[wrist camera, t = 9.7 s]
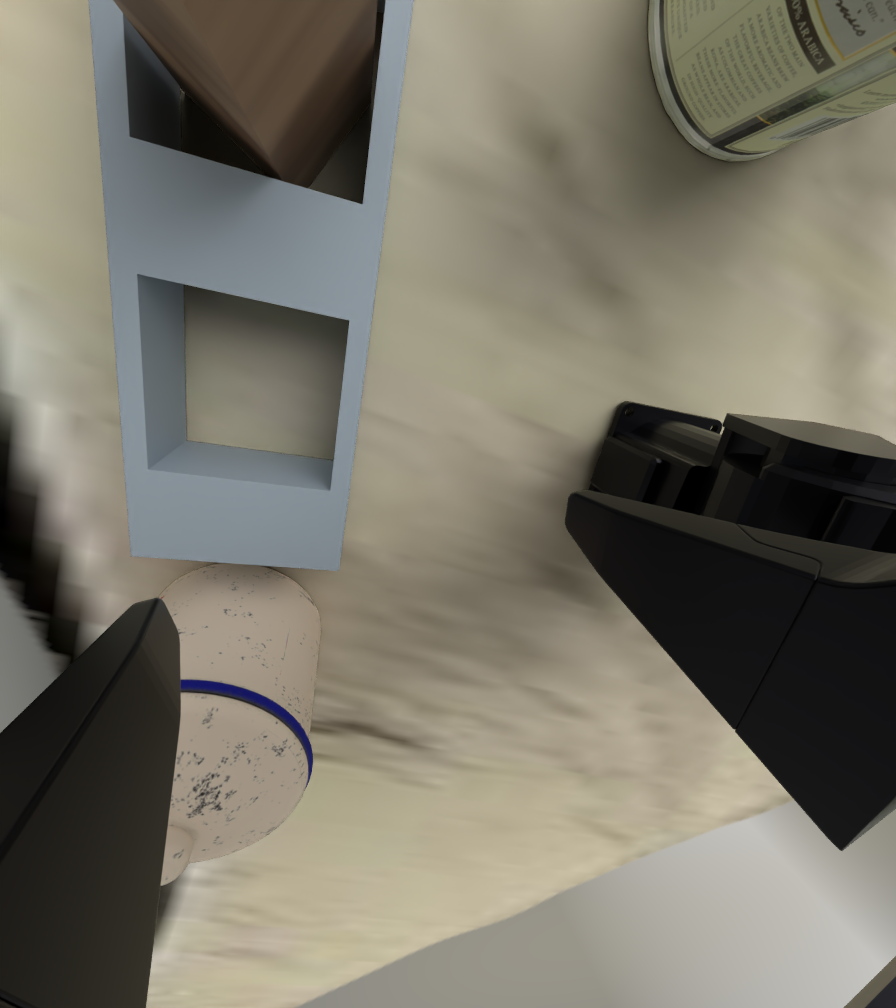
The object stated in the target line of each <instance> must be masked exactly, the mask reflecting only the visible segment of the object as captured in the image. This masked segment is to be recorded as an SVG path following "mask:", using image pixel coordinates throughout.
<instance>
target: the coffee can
mask: <svg viewBox="0 0 896 1008" xmlns="http://www.w3.org/2000/svg"><path fill="white" fill-rule="evenodd" d="M648 39H649V49H650V57H651V64H652V69H653V74H654V78H655V82H656V85H657V89H658V92H659V94H660V97H661V99H662V102H663V106H664V108H665V110H666V112H667V114H668V115H669V116H670V118H671V119H672V121H673V123H674V124H675V125H676V127H677V129H678V131H679V132H680V133H681V134H682V135H683V136H684V137H685V139H686V140H687V141H688V142H689V143H690V144H691V145H693V146H694V147H695V148H697V149H698V150H700V151H701V152H702V153H705V154H707V155H709V156H711V157H714V158H717V159H721V160H725V161H727V162H731V161H748V160H753V159H758V158H761V157H764V156H767V155H769V154H772V153H774V152H776V151H778V150H780V149H782V148H783V147H785V146H787V145H789V144H791V143H794V142H796V141H799V140H802V139H804V138H807V137H809V136H812V135H814V134H817V133H819V132H822V131H824V130H827V129H830V128H832V127H835V126H838V125H840V124H842V123H845V122H847V121H850V120H852V119H855V118H857V117H860V116H863V115H866V114H868V113H871V112H873V111H875V110H878V109H880V108H883V107H885V106H887V105H890V104H892V103H895V102H896V0H650V5H649V13H648Z"/></svg>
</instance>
